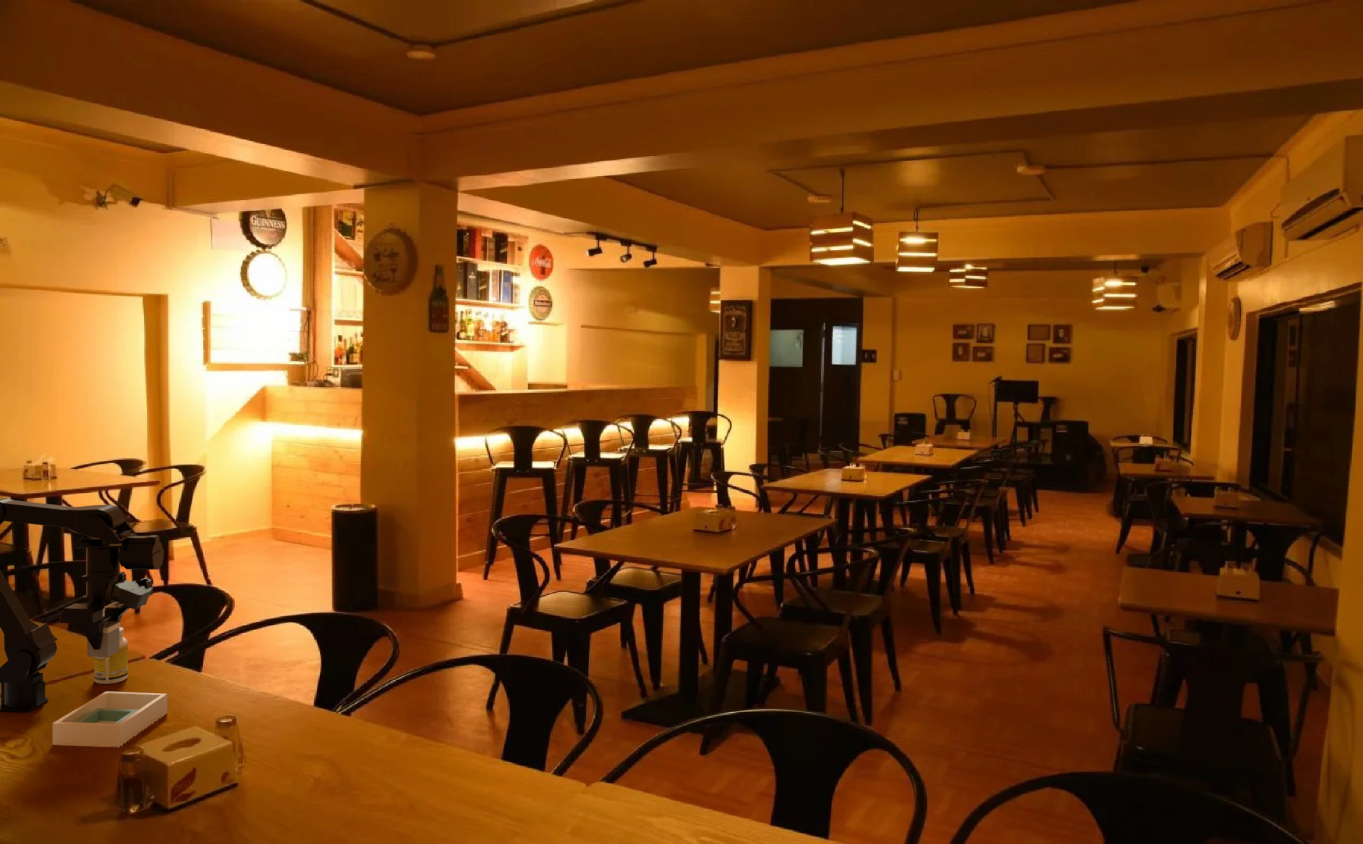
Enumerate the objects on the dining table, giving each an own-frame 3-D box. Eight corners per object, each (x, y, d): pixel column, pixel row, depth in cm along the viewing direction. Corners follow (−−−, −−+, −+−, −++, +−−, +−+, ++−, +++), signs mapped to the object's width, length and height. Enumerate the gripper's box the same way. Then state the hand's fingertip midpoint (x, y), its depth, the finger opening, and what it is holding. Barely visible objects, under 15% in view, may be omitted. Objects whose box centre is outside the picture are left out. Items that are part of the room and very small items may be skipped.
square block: (86, 656, 184) (86, 627, 184) (99, 650, 188) (99, 621, 188) (107, 657, 184) (107, 627, 184) (119, 650, 189) (119, 621, 188)
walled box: (52, 745, 168) (52, 723, 168) (105, 711, 184) (105, 691, 184) (119, 747, 168) (119, 725, 168) (167, 713, 184) (167, 693, 184)
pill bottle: (130, 674, 205) (131, 624, 204) (123, 683, 199) (123, 633, 198) (98, 675, 203) (98, 626, 202) (90, 685, 197) (90, 634, 196)
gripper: (117, 582, 176) (117, 663, 177) (168, 560, 195) (168, 633, 196) (57, 580, 176) (57, 661, 177) (114, 558, 194) (114, 631, 195)
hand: (103, 646), depth 186 cm, fingers closed on square block, 4 cm apart
